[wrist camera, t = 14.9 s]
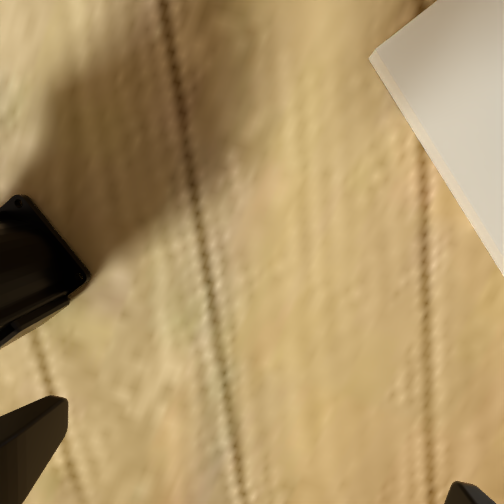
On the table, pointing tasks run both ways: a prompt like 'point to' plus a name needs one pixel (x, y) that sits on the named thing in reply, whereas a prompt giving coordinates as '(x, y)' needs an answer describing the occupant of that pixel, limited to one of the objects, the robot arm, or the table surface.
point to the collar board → (456, 102)
